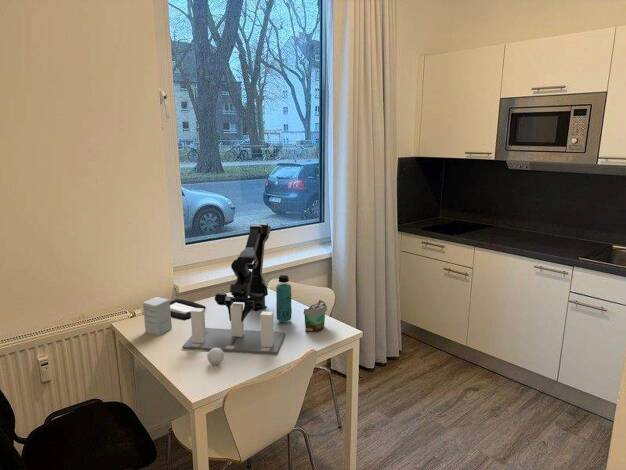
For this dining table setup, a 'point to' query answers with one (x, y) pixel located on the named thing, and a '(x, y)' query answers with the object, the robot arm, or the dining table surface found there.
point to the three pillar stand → (224, 340)
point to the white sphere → (215, 356)
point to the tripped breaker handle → (237, 320)
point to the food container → (315, 317)
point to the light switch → (183, 308)
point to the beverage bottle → (283, 299)
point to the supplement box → (157, 315)
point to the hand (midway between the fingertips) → (236, 321)
